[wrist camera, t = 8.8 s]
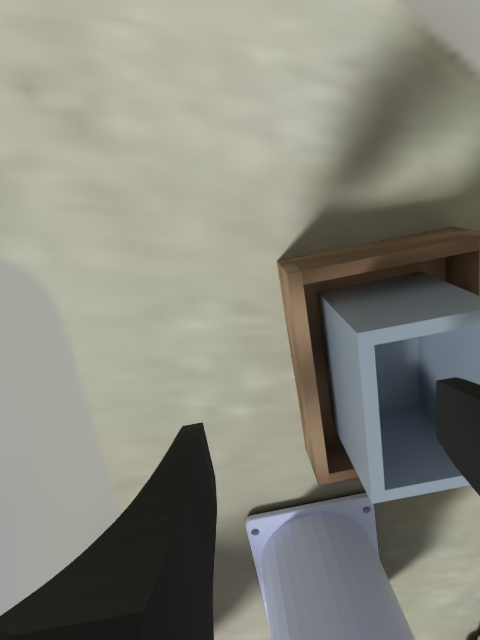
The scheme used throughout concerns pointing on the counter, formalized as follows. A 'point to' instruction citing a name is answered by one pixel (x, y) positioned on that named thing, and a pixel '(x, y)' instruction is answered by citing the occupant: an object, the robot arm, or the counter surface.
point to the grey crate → (397, 376)
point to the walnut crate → (343, 270)
